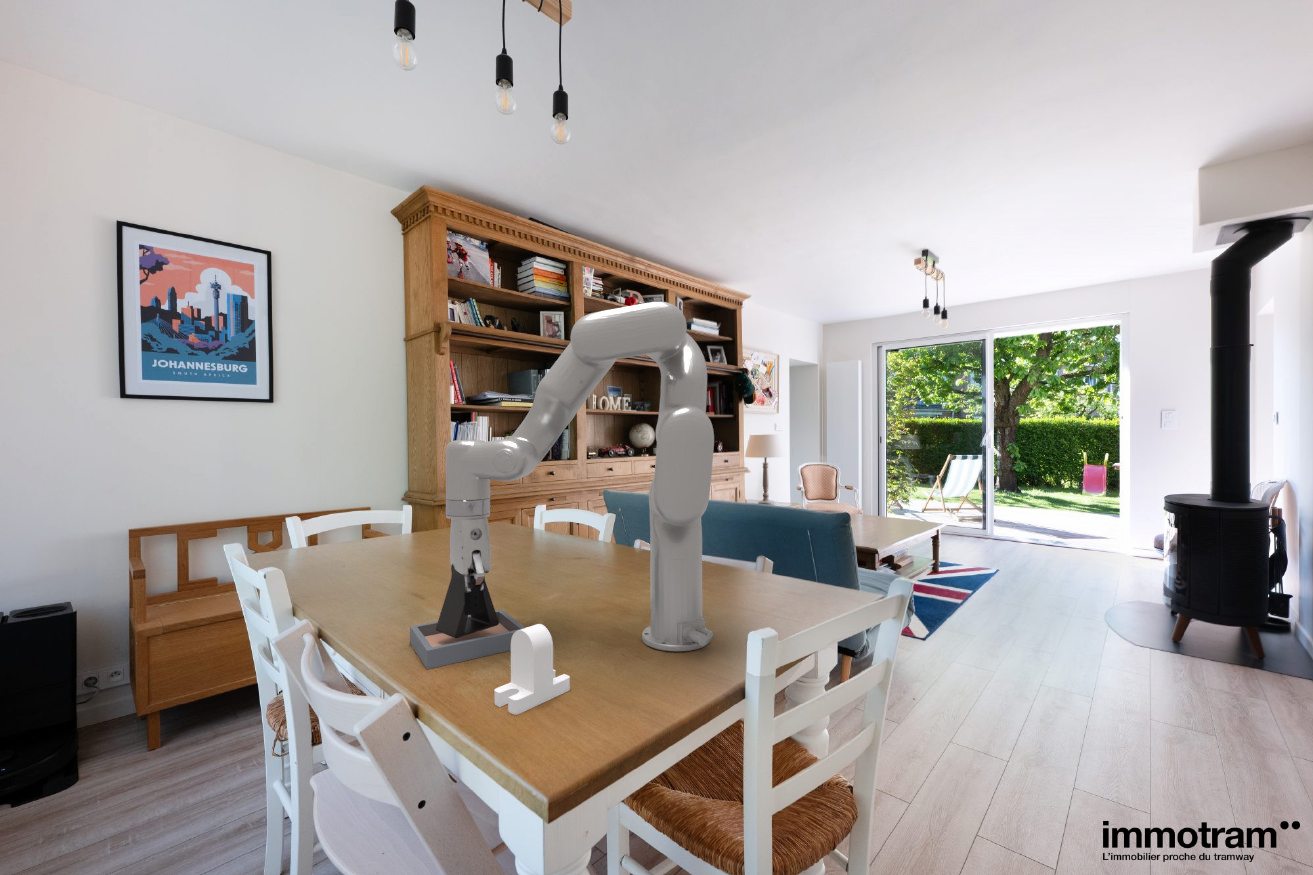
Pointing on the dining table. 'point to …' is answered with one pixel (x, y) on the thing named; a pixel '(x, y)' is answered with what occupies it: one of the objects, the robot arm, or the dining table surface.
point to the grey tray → (462, 642)
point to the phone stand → (454, 610)
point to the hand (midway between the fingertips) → (468, 607)
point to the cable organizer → (531, 672)
